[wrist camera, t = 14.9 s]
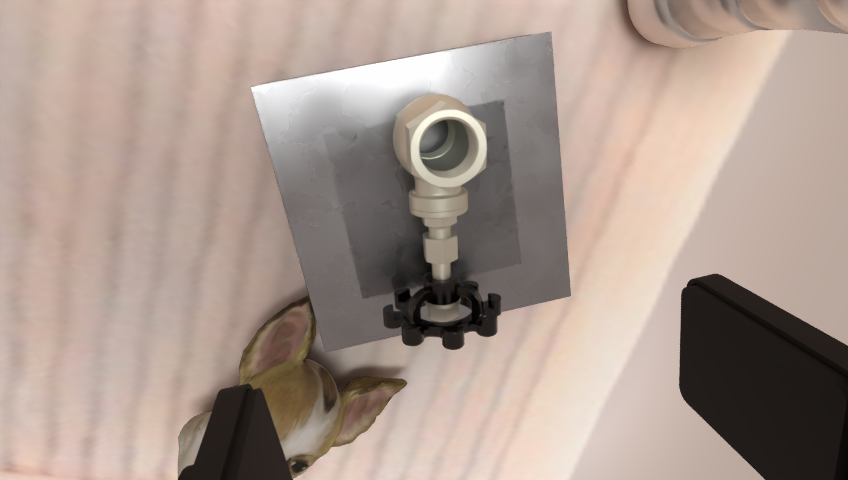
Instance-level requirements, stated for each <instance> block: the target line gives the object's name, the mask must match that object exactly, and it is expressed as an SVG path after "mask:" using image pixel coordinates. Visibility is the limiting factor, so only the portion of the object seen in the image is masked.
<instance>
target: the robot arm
mask: <svg viewBox="0 0 848 480" xmlns="http://www.w3.org/2000/svg"><path fill="white" fill-rule="evenodd" d="M679 387H680V392H681V394H682V397H683V398H684V400H685V401H686V402H687V404H688V405H689V406H690V407H692V408H693V409H694V410H695V411H696V412H697V413H698V414H699V415H700V416H701V417H702V418H703V419H704V420H705V421H706V422H707V423H708V424H709V425H710V426H711V427H712V428H713V429H714V430H715V431H716V432H717V433H718V434H719V435H720V436H721V437H722V438H723V439H724V440H725V441H726V442H727V443H728V444H729V445H731V447H732V448H733V449H735V450H736V451H737V452H738V453H739V454H740V455H741V456H742V457H743V458H744V459H745V460H746V461H747V462H748V463H749V464H750V465H751V466H752V467H753V468H754V469H755V470H756V471H757V472H758V473H759V474H760V475H761V476H762V477H763V478H764V479H765V480H848V346H847V345H845V344H844V343H842V342H840V341H838V340H837V339H835V338H833V337H831V336H829V335H827V334H826V333H824V332H822V331H820V330H819V329H817V328H815V327H813V326H811V325H810V324H808V323H806V322H804V321H802V320H801V319H799V318H797V317H795V316H794V315H792V314H790V313H788V312H786V311H785V310H783V309H781V308H779V307H777V306H776V305H774V304H772V303H770V302H769V301H767V300H765V299H763V298H761V297H760V296H758V295H756V294H754V293H752V292H751V291H749V290H747V289H745V288H743V287H742V286H740V285H738V284H736V283H734V282H733V281H731V280H729V279H727V278H725V277H724V276H722V275H719V274H711V275H707V276H703V277H699V278H695V279H692V280H690V281H689V282H688V284H687V287H686V288H684V289H683V290H682V294H681V332H680V376H679ZM178 480H293V479H292V476H291V473H290V470H289V467H288V464H287V461H286V458H285V455H284V452H283V449H282V446H281V443H280V440H279V437H278V434H277V431H276V429H275V426H274V423H273V420H272V417H271V414H270V411H269V408H268V405H267V402H266V399H265V396H264V393H263V391H262V389H261V388H257V389H253V388H252V386H251V385H250V384H249V383H247V384H243V385H239V386H235V387H230V388H226V389H222V390H220V391H219V393H218V396H217V399H216V401H215V404H214V407H213V410H212V413H211V416H210V419H209V421H208V424H207V427H206V430H205V433H204V436H203V439H202V442H201V444H200V447H199V450H198V453H197V456H196V459H195V462H194V464H193V465H189V466H186V467H185V468H184V469H183V470H182V472H181V474H180V476H179V478H178Z"/></svg>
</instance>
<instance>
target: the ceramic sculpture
mask: <svg viewBox="0 0 848 480" xmlns="http://www.w3.org/2000/svg"><path fill="white" fill-rule="evenodd" d="M315 336H316V326H315V314H314V310H313V307H312V303H311V300H310V296H307V297H305V298H303V299H301V300H299V301H297V302H294V303H292V304H290V305H289V306H287V307H286V308H284V309H282V310H281V311H280V312H278V313H277V314H276V315H275V316H273V317H272V318H271V319H269V320H268V321H267V322H266V323H265V324H264V325H263V326H262V327H261V328H260V329H259V330H258V332H257V333H256V335H255V336H254V338H253V339H252V340H251V342H250V343H249V345H248V346H247V347H246V348H245V350H244V351H243V355H242V358H241V362H240V366H239V372H240V381H239V385H243V384H247V383H249V384H250V385H251V386H252V388H253V389H257V388H261V389H262V391H263V393H264V396H265V399H266V402H267V405H268V408H269V411H270V414H271V417H272V420H273V423H274V426H275V429H276V431H277V434H278V437H279V440H280V443H281V446H282V449H283V452H284V455H285V458H286V461H287V464H288V467H289V470H290V473H291V476H292V479H294V478H295V477H297V476H299V475H301V474H302V473H303V472H305V471H306V470H307V469H308V468H309V467H310V466H312V464H313V463H314V462H315V461H316V460H317V459H318V458H320V457H321V456H323V455H325V454H326V453H327V452H328V451H329V449H330V448H331V447H335V446H342V445H345V444H348V443H351V442H353V441H354V440H355V439H356V437H357V436H359V435H360V434H361V433H364V432H365V431H367V430H368V429H369V428H370V426H371V425H372V424H373V423H374V422H375V419H376V416H378V415H380V413H381V412H382V410H383V409H384V408H385V406H386V405H387V403H388V402H389V400H390V399H391V398H392V396H393V395H394V394H396V393H397V392H399V391H400V390H401V389H402V388H404V387H405V386H406V384H407V382H406V381H405V380H403V379H395V378H381V377H359V378H356V379H354V380H352V381H351V382H350V383H349V384H347V386H346V387H345V388H344V389H343V390H342V392H341V393H339V392H338V390H337V387H336V384H335V381H334V379H333V378H332V376H331V375H330V373H329V372H328V371H327V370H326V368H325V367H323V366H322V365H320V364H318V363H316V362H315V361H313V360H310V359H306V358H305V357H306V356H307V355H308V353H309V351H310V349H311V347H312V344H313V342H314V339H315ZM239 385H238V386H239ZM211 413H212V411H210V412H205V413H202V414H200V415H197V416H195V417H193V418H192V419H190V420H189V421H188V422H187V423H186V424H185V425H184V427H183V428H182V430H181V432H180V435H179V437H178V438H179V456H178V478H179V476H180V474H181V472H182V470H183V469H184V468H185V467H186V466H189V465H193V464H194V462H195V459H196V456H197V453H198V450H199V447H200V444H201V442H202V439H203V436H204V433H205V430H206V427H207V424H208V421H209V419H210V416H211Z"/></svg>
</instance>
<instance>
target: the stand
mask: <svg viewBox="0 0 848 480" xmlns="http://www.w3.org/2000/svg"><path fill="white" fill-rule="evenodd" d="M251 90H252V93H253V97H254V100H255V104H256V108H257V111H258V115H259V118H260V122H261V125H262V129H263V133H264V136H265V140H266V143H267V147H268V150H269V154H270V157H271V161H272V165H273V168H274V172H275V175H276V179H277V182H278V186H279V189H280V193H281V197H282V200H283V204H284V207H285V211H286V214H287V218H288V221H289V225H290V229H291V232H292V236H293V239H294V243H295V246H296V250H297V253H298V257H299V261H300V264H301V268H302V271H303V275H304V278H305V282H306V285H307V289H308V293H309V296H310V300H311V303H312V307H313V310H314V314H315V317H316V321H317V325H318V328H319V332H320V335H321V339H322V342H323V346H324V349H325V352H329V351H333V350H338V349H342V348H346V347H351V346H355V345H360V344H364V343H368V342H373V341H377V340H381V339H386V338H390V337H394V336H399V335H402V331H401V327H400V328H397V329H389V328H386V327H385V326H384V321H383V308H384V307H385V306H387V305H390V304H393V311H401V310H398V309H396V308H395V300H394V291H395V290H397V289H399V288H410V295H411V296H413V295H414V294H415V293H416V292H417V291H418V290H420V289H422V288H424V283H423V277H424V275H425V274H426V273H428V272H430V271H432V263H429V262H427V261H426V260H425V257H424V245H423V233H425V232H429V229H428V226H425V225H424V224H423V221H422V218H421V217H417V216H415V215H413V214H411V212H410V204H409V192H410V191H411V190H413V189H415V179H414V176H413V175H412V174H411V173H409V172H408V171H407V170H406V169H405V168H404V167H403V166H402V164H401V163H400V161H399V160H398V158H397V156H396V153H395V150H394V146H393V131H394V126H395V114H396V113H397V112H399V111H400V110H401V109H403V108H404V107H406V106H407V105H408V104H409V103H410V102H412V101H413V100H415V99H417V98H419V97H421V96H422V95H424V94H425V95H428V94H444V95H448V96H451V97H454V98H456V99H457V100H459V101H461V102H462V103H463V104H464V105H466V106H467V108H468V109H469V110H470V111H471V113H472V114H473V116H474V117H475V118H476V119H478V120H480V121H482V122H483V123H485V124H486V138H487V159H486V168H485V169H484V170H483V171H481V172H480V173H479V174H477V175H476V176H475V177H473V178H472V179H470V180H469V181H467V182H466V183H464V184H463V185H461V187H464V188H465V189H467V191H468V210H467V211H466V212H465V213H464V214H461V215H459V216H457V223H455V224H454V225H451V230H454V232H455V233H456V235H457V243H458V259H457V260H455V261H453V262H451V263H450V267H451V270H452V271H455V272H457V273H458V274H459V275H460V283H461V282H464V281H475V282H477V283H478V284H479V293H480V295H481V297H482V300H483V301H487V300H488V293H496V294H498V295H500V296H501V298H502V306H501V312H503V311H508V310H512V309H516V308H521V307H525V306H530V305H534V304H538V303H543V302H547V301H551V300H556V299H560V298H564V297H569V296H571V291H570V277H569V264H568V250H567V237H566V224H565V210H564V197H563V183H562V170H561V157H560V143H559V130H558V116H557V103H556V90H555V76H554V63H553V49H552V36H551V32H546V33H540V34H534V35H533V34H532V35H525V36H520V37H514V38H509V39H503V40H498V41H492V42H487V43H482V44H476V45H471V46H465V47H460V48H454V49H449V50H443V51H438V52H433V53H427V54H422V55H416V56H411V57H405V58H400V59H394V60H389V61H384V62H378V63H373V64H367V65H362V66H356V67H351V68H346V69H340V70H335V71H329V72H324V73H318V74H313V75H307V76H302V77H297V78H291V79H286V80H280V81H275V82H269V83H264V84H260V85H257V86H252V87H251ZM447 136H448V124H447V121H446V120H442V121H439V122H437V123H435V124H433V125H432V126H431V127H430V128H429V129H428V130H427V131H426V133H425V134H424V136H423V138H422V140H421V144H420V152H421V153H430V152H434V151H436V150H437V149H439V148H440V147H441V146H442V145H443V144H444V143H445V141H446V139H447ZM458 306H459V316H458V317H456V318H455V319H453V320H451V321H456V320H459V319H462V318H464V317H466V316H468V315H469V314H470V313H471V310H470V309H469V308H467V307H466V306H463V305H460V304H458ZM421 319H424V320H427V321H432V322H438V321H434V320H431V319H430V317H429V314H428V306H427V305H426V306H424V307H422V308H421ZM448 322H450V321H448Z"/></svg>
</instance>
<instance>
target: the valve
mask: <svg viewBox="0 0 848 480" xmlns="http://www.w3.org/2000/svg"><path fill="white" fill-rule="evenodd" d="M442 120H446V121H447V124H448V136H447V139H446V141H445V143H444V144H443V145H442V146H441V147H440V148H439V149H437V150H436V151H434V152H430V153H421V152H420V144H421V140H422V138H423V136H424V134H425V133H426V131H427V130H428V129H429V128H430V127H431V126H432V125H433V124H435V123H437V122H439V121H442ZM393 146H394V150H395V153H396V156H397V158H398V160H399V161H400V163H401V164H402V166H403V167H404V168H405V169H406V170H407V171H408V172H409V173H411V174H412V175H413V176H414V179H415V189H413V190H411V191H410V192H409V204H410V212H411V214H413V215H415V216H417V217H421V218H422V221H423V224H424V225H425V226H428V229H429V232H425V233H423V245H424V257H425V260H426V261H427V262H429V263H432V271H430V272H428V273H426V274H425V275H424V277H423V283H424V288H422V289H420V290H418V291H417V292H416V293H415V294H414V295H413V296H411V295H410V288H399V289H397V290H395V291H394V300H395V308H396V309H398V310H401V311H393V304H390V305H387V306H385V307H384V308H383V321H384V326H385V327H386V328H389V329H397V328H400V327H401V331H402V341H403V343H404V344H405V345H408V346H417V345H420V344H421V343H422V342H423V341H424V338H426V337H440V338H442V345H443V346H444V347H445V348H446V349H450V350H456V349H460V348H462V347H463V346H464V334H465V333H468V332H472V331H474V332H476V333H477V334H478V335H480V336H484V337H490V336H494V335H495V334H496V333H497V316H499V315H500V314H501V306H502V298H501V296H500V295H498V294H496V293H488V300H487V301H483V300H482V297H481V295H480V293H479V284H478V283H477V282H475V281H464V282H461V283H460V275H459V274H458V273H457V272H455V271H452V270H451V267H450V263H451V262H453V261H455V260H457V259H458V243H457V235H456V233H455V232H454V230H451V225H454V224H455V223H457V216H459V215H461V214H464V213H465V212H466V211H467V210H468V191H467V189H465V188H464V187H461V185H463V184H464V183H466V182H467V181H469V180H470V179H472V178H473V177H475V176H476V175H477V174H479V173H480V172H481V171H483V170H484V169H485V168H486V159H487V138H486V124H485V123H483V122H482V121H480V120H478V119H476V118H475V117H474V116H473V114H472V113H471V111H470V110H469V109H468V108H467V106H466V105H464V104H463V103H462V102H461V101H459V100H457V99H456V98H454V97H451V96H448V95H444V94H428V95H425V94H424V95H422V96H421V97H419V98H417V99H415V100H413V101H412V102H410V103H409V104H408V105H407V106H406V107H404V108H403V109H401V110H400V111H399V112H397V113H396V114H395V126H394V131H393ZM458 304H460V305H463V306H466V307H467V308H469V309H470V310H471V313H470V314H469V315H468V316H466V317H464V318H462V319H459V320H456V321H451V320H453V319H455V318H456V317H458V316H459V306H458ZM426 305H427V306H428V314H429V317H430V319H431V320H434V321H438V322H432V321H427V320H424V319H421V308H422V307H424V306H426ZM484 316H485V317H484ZM448 321H450V322H448Z"/></svg>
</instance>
